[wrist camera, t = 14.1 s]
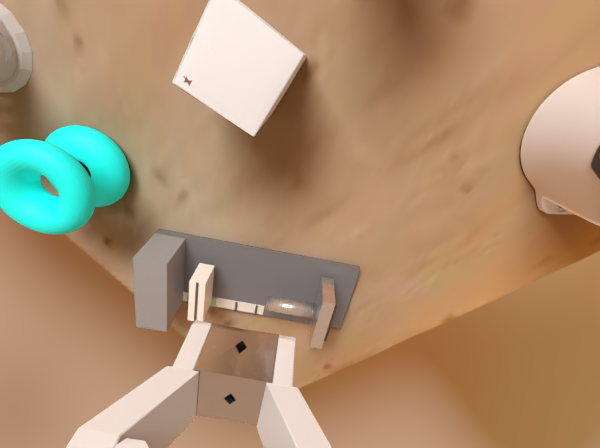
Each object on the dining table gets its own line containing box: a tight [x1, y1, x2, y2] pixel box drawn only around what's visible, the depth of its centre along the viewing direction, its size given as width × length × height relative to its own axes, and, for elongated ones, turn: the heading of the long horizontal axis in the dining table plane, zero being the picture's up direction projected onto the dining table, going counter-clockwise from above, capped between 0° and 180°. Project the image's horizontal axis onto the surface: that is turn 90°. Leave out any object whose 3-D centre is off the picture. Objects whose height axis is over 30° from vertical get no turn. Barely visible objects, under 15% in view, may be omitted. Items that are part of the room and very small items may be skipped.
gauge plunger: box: [265, 277, 337, 349], centre depth 44 cm, size 9×8×5 cm
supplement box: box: [172, 0, 307, 136], centre depth 29 cm, size 7×7×13 cm
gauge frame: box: [133, 229, 360, 331], centre depth 44 cm, size 28×11×7 cm, turn 79°
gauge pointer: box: [188, 263, 214, 321], centre depth 43 cm, size 2×6×4 cm, turn 169°
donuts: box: [0, 125, 130, 234], centre depth 36 cm, size 10×10×10 cm
